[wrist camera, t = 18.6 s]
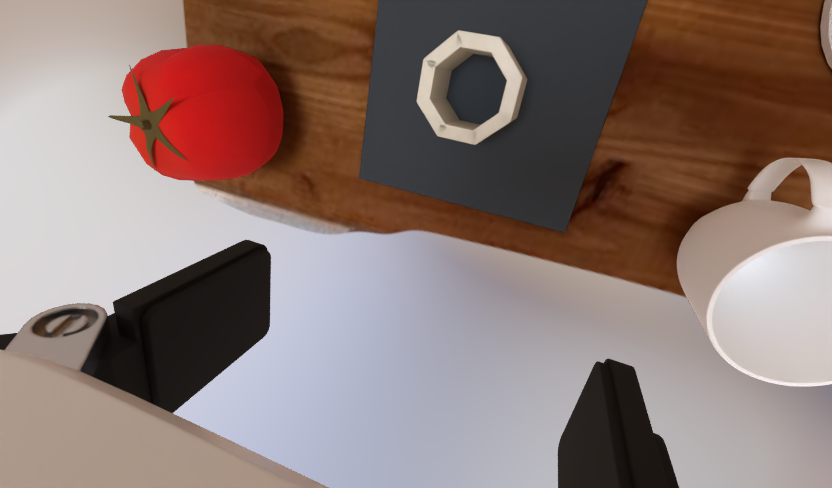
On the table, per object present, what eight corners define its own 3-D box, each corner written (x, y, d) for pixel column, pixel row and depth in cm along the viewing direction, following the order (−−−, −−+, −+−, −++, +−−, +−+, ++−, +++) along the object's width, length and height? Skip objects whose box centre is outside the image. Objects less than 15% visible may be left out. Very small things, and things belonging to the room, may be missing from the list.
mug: (770, 298, 31) (883, 405, 20) (645, 281, 33) (688, 368, 23) (828, 148, 27) (1010, 184, 16) (680, 142, 29) (752, 169, 19)
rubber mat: (661, -40, 26) (662, -42, 26) (565, 231, 34) (565, 232, 34) (388, -68, 31) (386, -70, 30) (360, 177, 39) (359, 178, 38)
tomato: (330, 96, 37) (225, 97, 25) (279, 192, 43) (174, 230, 31) (238, 19, 37) (92, -15, 25) (200, 126, 43) (66, 138, 31)
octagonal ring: (535, 49, 30) (532, 42, 25) (510, 143, 33) (502, 151, 28) (446, 35, 31) (428, 25, 27) (430, 125, 34) (411, 130, 30)
